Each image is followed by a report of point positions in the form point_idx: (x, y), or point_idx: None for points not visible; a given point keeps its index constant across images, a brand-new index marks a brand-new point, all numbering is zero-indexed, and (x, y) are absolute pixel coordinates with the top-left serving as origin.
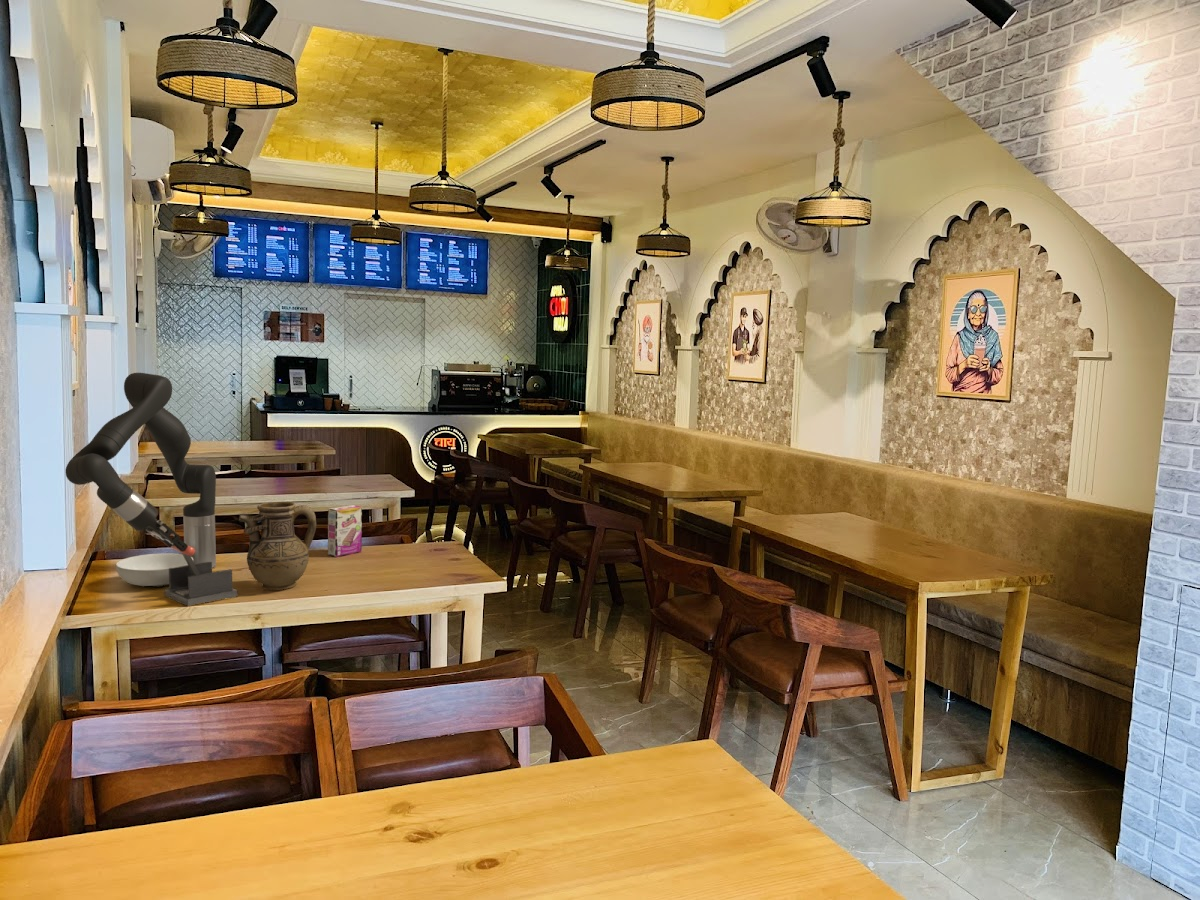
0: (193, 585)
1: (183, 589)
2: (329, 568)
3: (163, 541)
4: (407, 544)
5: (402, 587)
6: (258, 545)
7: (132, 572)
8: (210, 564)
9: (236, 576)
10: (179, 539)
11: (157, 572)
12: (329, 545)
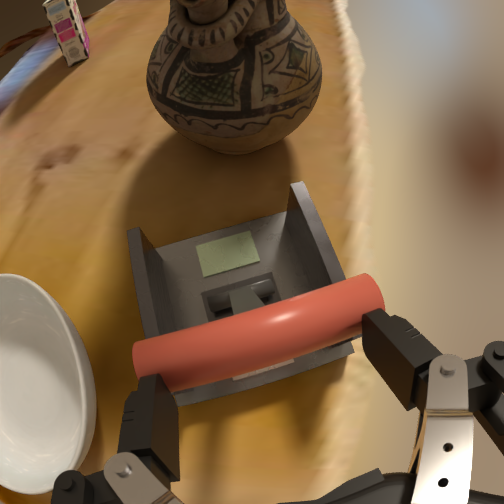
0: None
1: None
2: (147, 59)
3: (178, 455)
4: (99, 13)
5: (329, 24)
6: (257, 61)
7: None
8: (142, 235)
9: (82, 196)
10: (423, 354)
11: (89, 414)
12: (67, 52)
